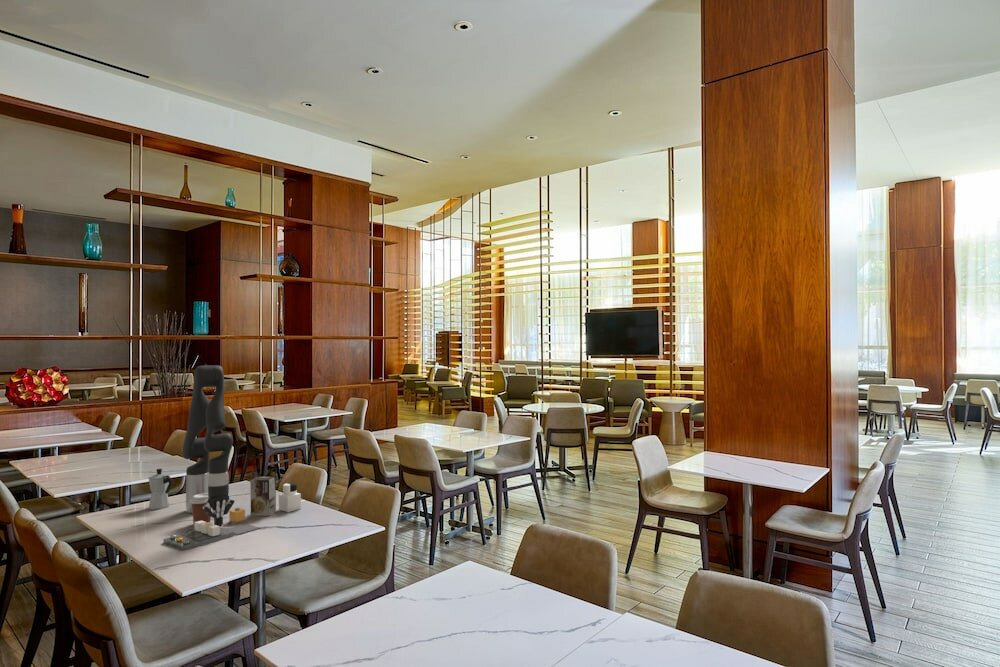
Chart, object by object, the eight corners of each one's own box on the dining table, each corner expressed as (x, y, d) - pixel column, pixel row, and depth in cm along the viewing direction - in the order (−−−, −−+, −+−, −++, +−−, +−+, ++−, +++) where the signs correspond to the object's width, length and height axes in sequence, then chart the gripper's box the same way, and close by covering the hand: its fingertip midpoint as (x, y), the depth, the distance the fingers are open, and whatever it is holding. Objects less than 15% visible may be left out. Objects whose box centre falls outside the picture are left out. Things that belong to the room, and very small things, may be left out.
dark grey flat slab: (163, 542, 223) (163, 536, 223) (214, 529, 239) (214, 522, 239) (183, 550, 214) (183, 543, 214) (234, 535, 230) (234, 529, 230)
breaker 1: (194, 530, 232) (194, 522, 232) (201, 528, 234) (201, 520, 234) (199, 531, 230) (199, 523, 230) (206, 529, 232) (206, 521, 232)
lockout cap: (229, 522, 248) (229, 508, 248) (239, 519, 252) (239, 506, 252) (235, 524, 246) (235, 510, 246) (245, 521, 249) (245, 507, 249)
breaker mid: (201, 532, 229) (201, 523, 229) (208, 530, 231) (208, 521, 231) (205, 534, 227) (205, 525, 227) (212, 532, 229) (212, 523, 229)
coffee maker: (140, 508, 270) (141, 469, 271) (158, 503, 278) (158, 465, 279) (163, 511, 264) (163, 472, 265) (180, 506, 273) (180, 468, 273)
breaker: (207, 534, 226) (207, 526, 226) (214, 532, 228) (214, 524, 228) (212, 536, 224) (212, 528, 224) (219, 534, 226) (219, 526, 226)
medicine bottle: (292, 506, 272) (292, 480, 272) (301, 508, 268) (301, 482, 268) (278, 510, 266) (278, 483, 266) (287, 512, 262) (287, 486, 262)
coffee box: (276, 512, 263) (276, 476, 263) (269, 516, 256) (269, 479, 257) (257, 511, 264) (257, 476, 264) (249, 515, 257) (249, 479, 258)
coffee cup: (185, 527, 242) (185, 498, 242) (196, 520, 251) (196, 492, 251) (207, 526, 242) (207, 498, 242) (217, 520, 251) (217, 492, 251)
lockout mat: (223, 530, 237) (223, 529, 237) (246, 524, 245) (246, 523, 245) (237, 535, 231) (237, 534, 231) (260, 528, 239) (260, 527, 239)
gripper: (228, 478, 240) (228, 520, 240) (197, 485, 230) (197, 529, 229) (239, 481, 236) (239, 523, 236) (207, 488, 225) (207, 532, 225)
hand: (218, 526), depth 233 cm, fingers closed
